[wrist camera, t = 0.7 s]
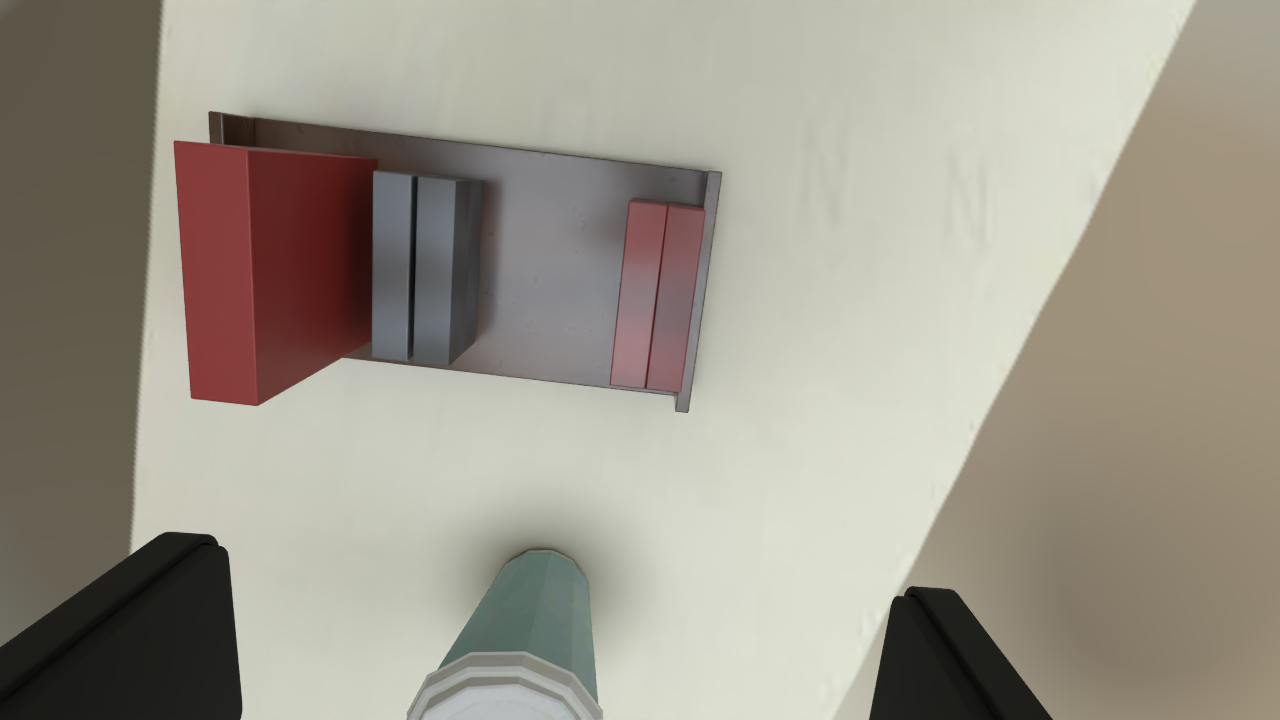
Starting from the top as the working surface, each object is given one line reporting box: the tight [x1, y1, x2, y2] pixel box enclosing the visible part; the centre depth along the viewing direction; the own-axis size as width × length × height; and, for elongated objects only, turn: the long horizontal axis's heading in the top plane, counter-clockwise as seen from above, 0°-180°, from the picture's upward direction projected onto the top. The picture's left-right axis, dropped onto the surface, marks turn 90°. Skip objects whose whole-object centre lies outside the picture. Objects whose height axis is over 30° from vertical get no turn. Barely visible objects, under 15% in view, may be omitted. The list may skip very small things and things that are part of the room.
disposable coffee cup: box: [407, 550, 603, 720], centre depth 41 cm, size 11×11×15 cm
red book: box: [174, 141, 377, 406], centre depth 34 cm, size 11×3×13 cm, turn 174°
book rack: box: [208, 111, 722, 413], centre depth 39 cm, size 14×28×7 cm, turn 84°
